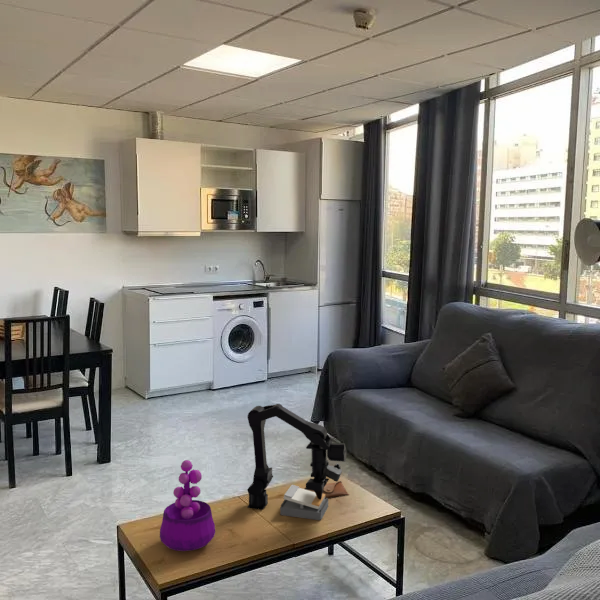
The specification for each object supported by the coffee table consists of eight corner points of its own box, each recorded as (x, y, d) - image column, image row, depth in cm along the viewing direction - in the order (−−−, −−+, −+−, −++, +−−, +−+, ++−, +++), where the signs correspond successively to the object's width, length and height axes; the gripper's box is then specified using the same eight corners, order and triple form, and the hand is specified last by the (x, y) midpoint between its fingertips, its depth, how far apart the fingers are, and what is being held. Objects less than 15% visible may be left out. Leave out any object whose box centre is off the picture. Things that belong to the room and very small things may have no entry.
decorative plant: (191, 526, 222) (190, 447, 219) (226, 542, 210) (225, 459, 207) (148, 546, 208) (146, 461, 204) (184, 564, 196) (182, 475, 193)
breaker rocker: (283, 498, 231) (284, 495, 231) (291, 487, 241) (292, 484, 241) (318, 509, 227) (319, 505, 227) (325, 497, 238) (325, 493, 237)
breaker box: (280, 514, 231) (280, 503, 231) (289, 501, 243) (289, 490, 242) (321, 520, 227) (321, 508, 226) (328, 506, 238) (328, 495, 238)
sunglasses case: (311, 502, 242) (308, 485, 244) (305, 505, 248) (301, 488, 250) (351, 494, 249) (347, 478, 252) (343, 497, 255) (340, 481, 258)
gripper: (334, 470, 220) (335, 511, 221) (344, 452, 238) (345, 491, 239) (304, 467, 223) (305, 508, 224) (317, 450, 241) (318, 488, 242)
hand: (319, 498), depth 233 cm, fingers closed, pressing on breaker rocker
